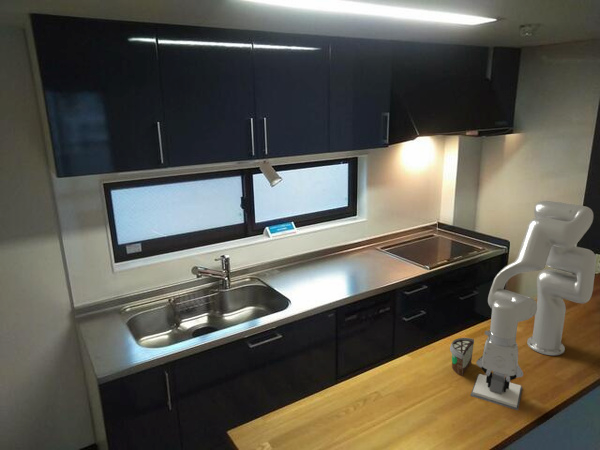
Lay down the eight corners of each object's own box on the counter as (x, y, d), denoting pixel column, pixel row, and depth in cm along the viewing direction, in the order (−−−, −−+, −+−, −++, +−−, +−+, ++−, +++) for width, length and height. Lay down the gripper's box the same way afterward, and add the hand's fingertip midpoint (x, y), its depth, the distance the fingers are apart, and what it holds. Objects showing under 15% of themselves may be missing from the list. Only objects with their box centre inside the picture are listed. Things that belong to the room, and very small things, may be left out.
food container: (455, 357, 160) (457, 333, 157) (472, 362, 156) (474, 338, 154) (443, 373, 151) (444, 348, 148) (460, 379, 147) (462, 354, 145)
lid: (478, 376, 148) (480, 362, 146) (520, 388, 141) (522, 373, 139) (472, 394, 139) (473, 379, 137) (516, 407, 132) (518, 392, 130)
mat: (477, 375, 149) (477, 374, 149) (522, 388, 142) (522, 386, 141) (470, 397, 138) (470, 395, 138) (517, 412, 131) (518, 410, 131)
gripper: (472, 336, 136) (467, 385, 141) (531, 350, 127) (524, 402, 132) (476, 326, 142) (472, 373, 147) (533, 339, 133) (526, 388, 138)
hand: (497, 386), depth 139 cm, fingers open, 4 cm apart
